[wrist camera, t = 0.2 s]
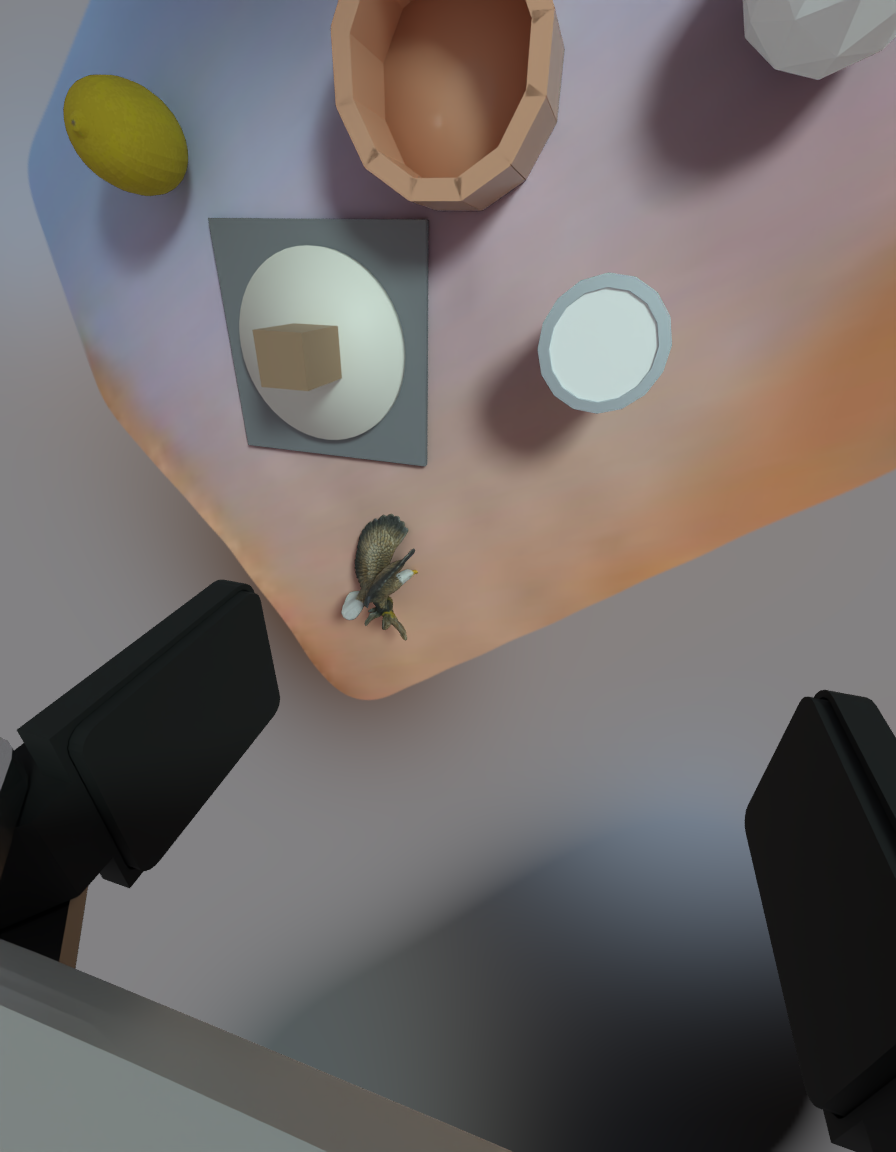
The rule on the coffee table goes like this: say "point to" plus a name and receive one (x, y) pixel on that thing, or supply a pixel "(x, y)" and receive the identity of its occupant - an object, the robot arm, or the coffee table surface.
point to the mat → (402, 272)
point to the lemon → (125, 134)
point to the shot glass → (605, 343)
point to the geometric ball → (818, 32)
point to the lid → (322, 342)
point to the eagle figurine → (379, 572)
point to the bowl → (448, 93)
